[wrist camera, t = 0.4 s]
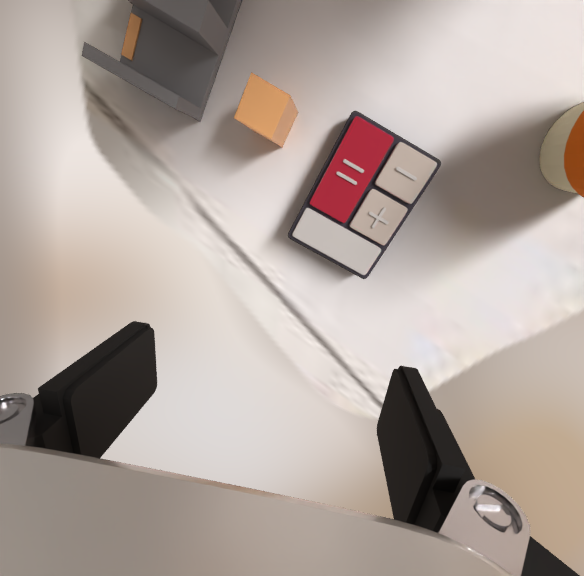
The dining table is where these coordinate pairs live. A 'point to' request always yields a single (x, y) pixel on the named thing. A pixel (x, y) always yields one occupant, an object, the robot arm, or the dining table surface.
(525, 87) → the dining table surface
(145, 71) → the grey slotted rack
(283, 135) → the tan tall block
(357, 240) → the calculator
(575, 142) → the reusable coffee cup
